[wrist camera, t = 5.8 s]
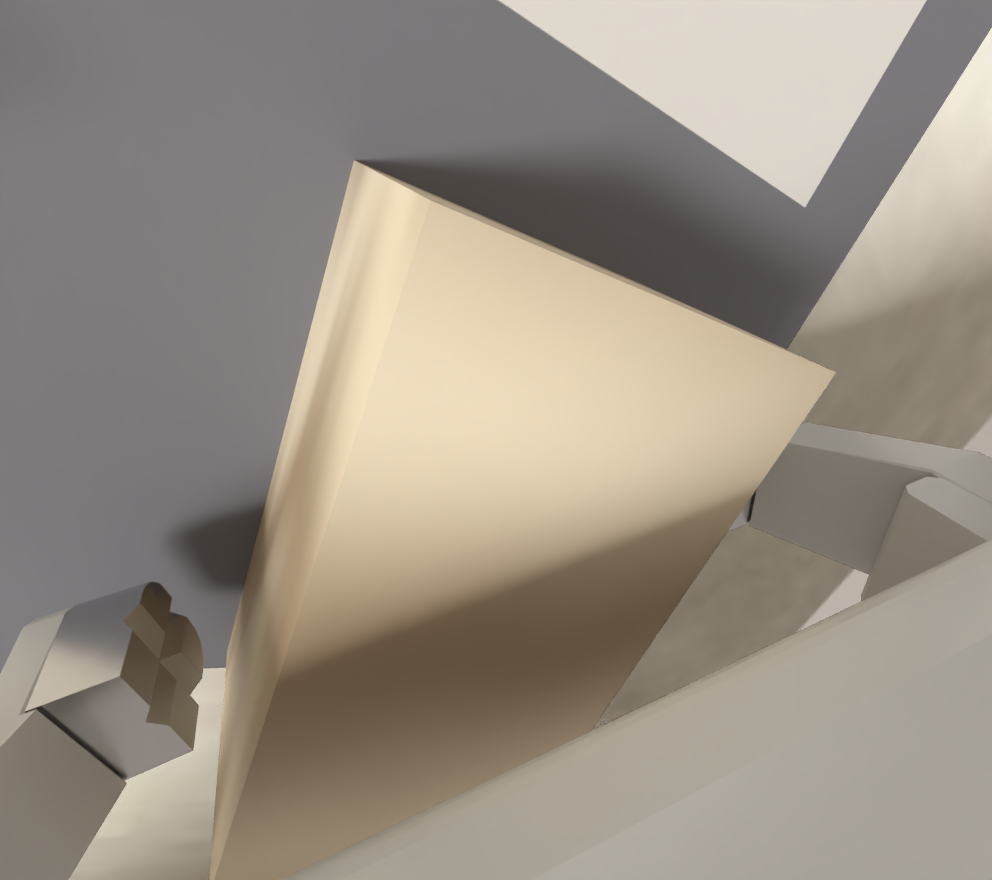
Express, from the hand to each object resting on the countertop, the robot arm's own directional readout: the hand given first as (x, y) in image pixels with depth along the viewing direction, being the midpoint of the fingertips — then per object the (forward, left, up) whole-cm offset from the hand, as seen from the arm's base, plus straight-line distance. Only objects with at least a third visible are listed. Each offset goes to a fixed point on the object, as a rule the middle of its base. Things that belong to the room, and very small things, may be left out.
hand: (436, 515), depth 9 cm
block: (0, 0, -1) cm, 1 cm away
